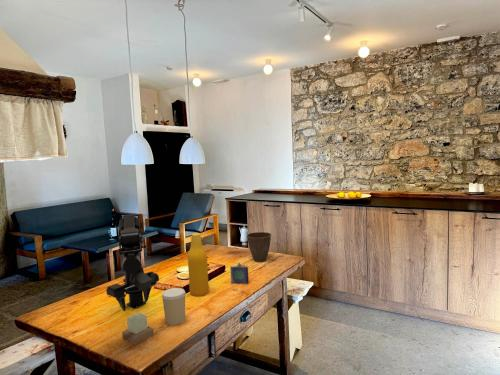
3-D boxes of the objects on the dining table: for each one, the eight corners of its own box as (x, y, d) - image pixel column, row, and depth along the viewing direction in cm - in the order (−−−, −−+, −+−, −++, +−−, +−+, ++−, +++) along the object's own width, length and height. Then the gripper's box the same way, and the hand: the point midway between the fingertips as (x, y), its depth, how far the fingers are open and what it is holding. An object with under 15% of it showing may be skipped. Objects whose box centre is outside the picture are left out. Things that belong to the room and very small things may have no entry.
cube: (128, 330, 128) (127, 317, 128) (139, 324, 132) (138, 312, 132) (135, 334, 125) (135, 321, 125) (147, 328, 129) (146, 315, 129)
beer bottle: (210, 294, 164) (207, 235, 161) (191, 297, 161) (187, 237, 158) (207, 287, 173) (203, 231, 170) (188, 290, 170) (184, 233, 167)
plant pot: (242, 261, 211) (241, 236, 209) (257, 255, 223) (256, 231, 221) (262, 265, 202) (261, 239, 200) (276, 258, 214) (275, 233, 212)
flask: (230, 283, 177) (229, 263, 176) (231, 281, 180) (231, 261, 178) (248, 284, 175) (247, 263, 174) (249, 282, 178) (248, 262, 177)
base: (122, 339, 128) (122, 331, 128) (141, 329, 134) (140, 322, 134) (135, 346, 123) (134, 338, 123) (153, 336, 130) (153, 328, 129)
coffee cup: (177, 313, 147) (175, 285, 145) (191, 319, 141) (190, 290, 139) (158, 321, 139) (156, 293, 138) (173, 328, 134) (171, 299, 132)
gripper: (121, 277, 114) (125, 322, 116) (166, 261, 128) (169, 301, 130) (103, 271, 121) (107, 313, 122) (148, 257, 135) (151, 295, 137)
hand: (135, 306), depth 128 cm, fingers open, 9 cm apart
